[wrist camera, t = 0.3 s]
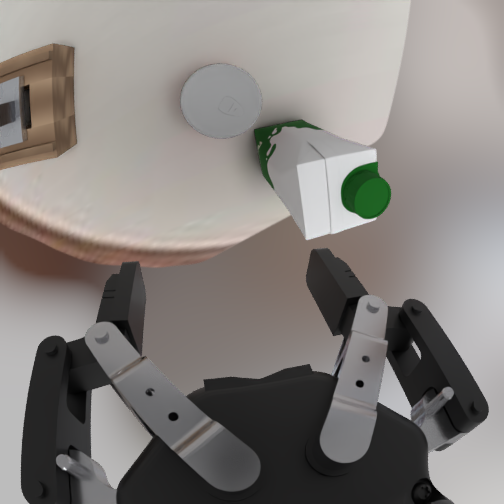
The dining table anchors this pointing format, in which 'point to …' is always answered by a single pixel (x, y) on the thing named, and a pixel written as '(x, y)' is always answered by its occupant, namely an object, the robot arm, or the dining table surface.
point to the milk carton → (321, 177)
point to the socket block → (43, 104)
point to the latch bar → (12, 112)
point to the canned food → (221, 101)
